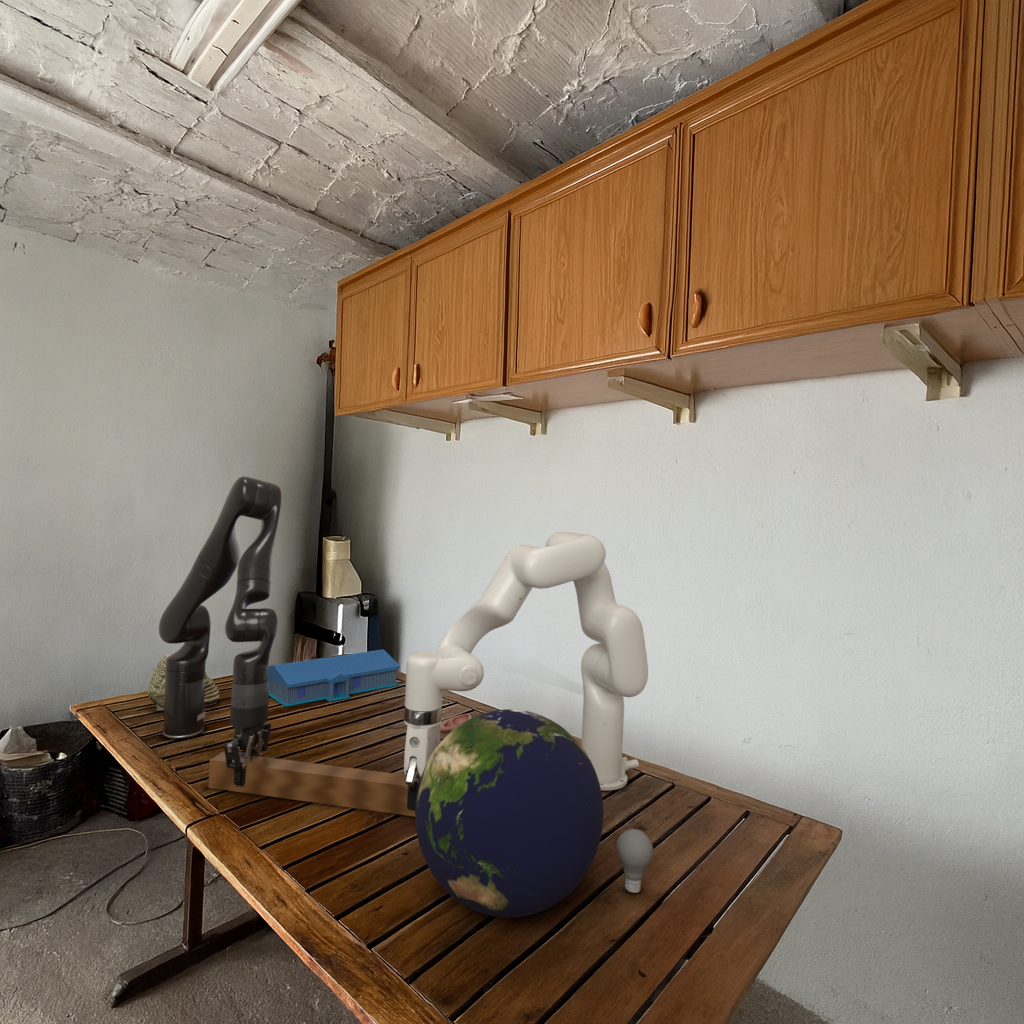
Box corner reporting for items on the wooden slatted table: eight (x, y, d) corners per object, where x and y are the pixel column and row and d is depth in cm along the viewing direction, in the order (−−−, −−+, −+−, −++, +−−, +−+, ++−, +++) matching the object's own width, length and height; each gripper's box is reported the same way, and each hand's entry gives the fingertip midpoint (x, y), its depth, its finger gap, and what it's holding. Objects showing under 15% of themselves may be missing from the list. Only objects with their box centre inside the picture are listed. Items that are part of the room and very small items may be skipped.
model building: (289, 709, 186) (291, 675, 185) (258, 688, 204) (259, 657, 204) (403, 687, 212) (405, 657, 212) (366, 670, 230) (368, 643, 230)
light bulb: (610, 879, 108) (613, 822, 108) (644, 879, 109) (647, 822, 109) (619, 902, 102) (622, 840, 102) (655, 901, 103) (658, 840, 103)
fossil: (144, 707, 182) (145, 655, 182) (212, 696, 194) (213, 647, 194) (151, 716, 175) (153, 662, 175) (221, 703, 188) (223, 653, 188)
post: (208, 787, 136) (209, 759, 136) (222, 778, 140) (223, 751, 140) (452, 822, 126) (453, 791, 126) (458, 810, 130) (459, 781, 130)
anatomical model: (416, 721, 169) (430, 707, 181) (415, 736, 169) (429, 721, 181) (463, 727, 167) (475, 713, 178) (463, 742, 167) (474, 727, 178)
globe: (373, 928, 94) (381, 727, 93) (463, 833, 121) (470, 677, 121) (566, 996, 82) (577, 768, 82) (617, 874, 110) (625, 703, 109)
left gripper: (245, 713, 128) (242, 797, 129) (283, 693, 143) (281, 768, 143) (212, 709, 130) (209, 792, 130) (253, 689, 144) (250, 764, 144)
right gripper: (427, 731, 120) (423, 826, 120) (452, 703, 137) (448, 787, 137) (390, 727, 121) (386, 821, 122) (419, 700, 138) (415, 783, 138)
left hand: (247, 779), depth 137 cm, fingers closed on post, 4 cm apart
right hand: (419, 802), depth 129 cm, fingers closed on post, 4 cm apart
